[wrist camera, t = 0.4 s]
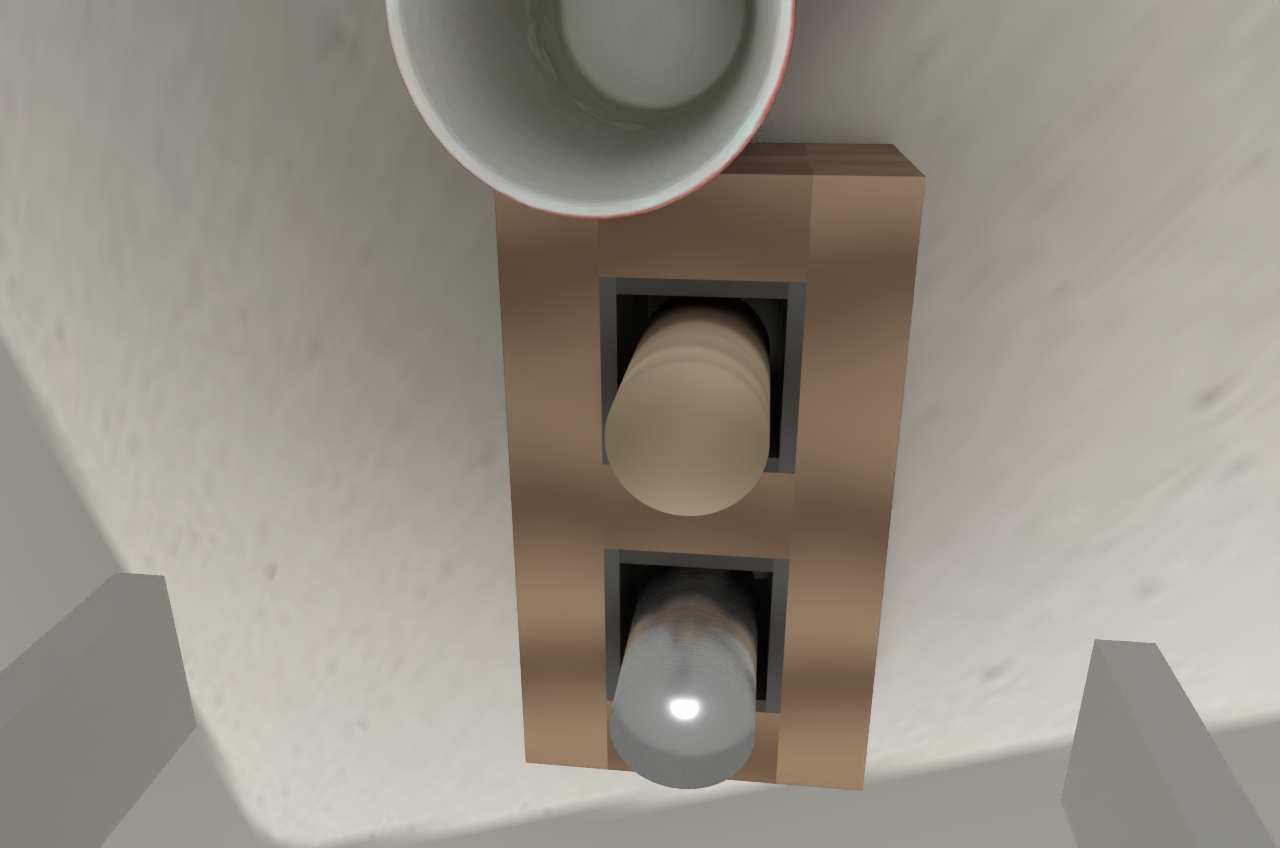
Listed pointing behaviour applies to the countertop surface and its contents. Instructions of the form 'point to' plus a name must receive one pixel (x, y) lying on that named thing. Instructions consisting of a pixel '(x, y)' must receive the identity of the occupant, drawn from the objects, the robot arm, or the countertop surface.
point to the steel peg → (689, 677)
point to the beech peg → (693, 407)
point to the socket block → (798, 453)
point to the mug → (593, 92)
